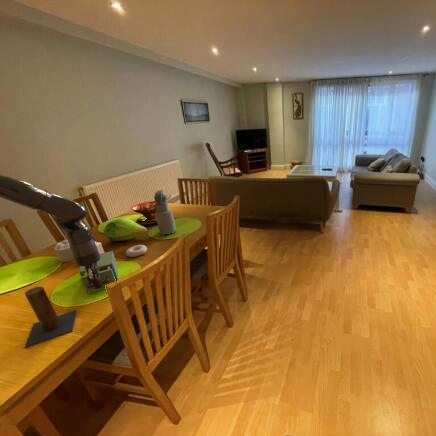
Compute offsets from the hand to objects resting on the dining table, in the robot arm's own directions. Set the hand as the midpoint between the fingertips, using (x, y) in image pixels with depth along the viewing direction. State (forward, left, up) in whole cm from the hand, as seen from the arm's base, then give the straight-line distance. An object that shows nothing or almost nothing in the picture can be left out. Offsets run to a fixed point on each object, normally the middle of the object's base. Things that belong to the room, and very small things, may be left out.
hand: (99, 287), depth 99 cm
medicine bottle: (+44, +5, -5) cm, 44 cm away
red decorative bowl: (+83, -30, -5) cm, 88 cm away
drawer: (+10, 0, -4) cm, 11 cm away
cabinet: (+17, 0, -5) cm, 17 cm away
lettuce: (+58, -12, -5) cm, 59 cm away
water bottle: (+54, -34, -5) cm, 64 cm away
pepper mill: (-9, +14, -5) cm, 18 cm away
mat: (-9, +14, -5) cm, 18 cm away
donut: (+34, -15, -5) cm, 37 cm away
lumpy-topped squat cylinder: (+52, +15, -5) cm, 54 cm away
